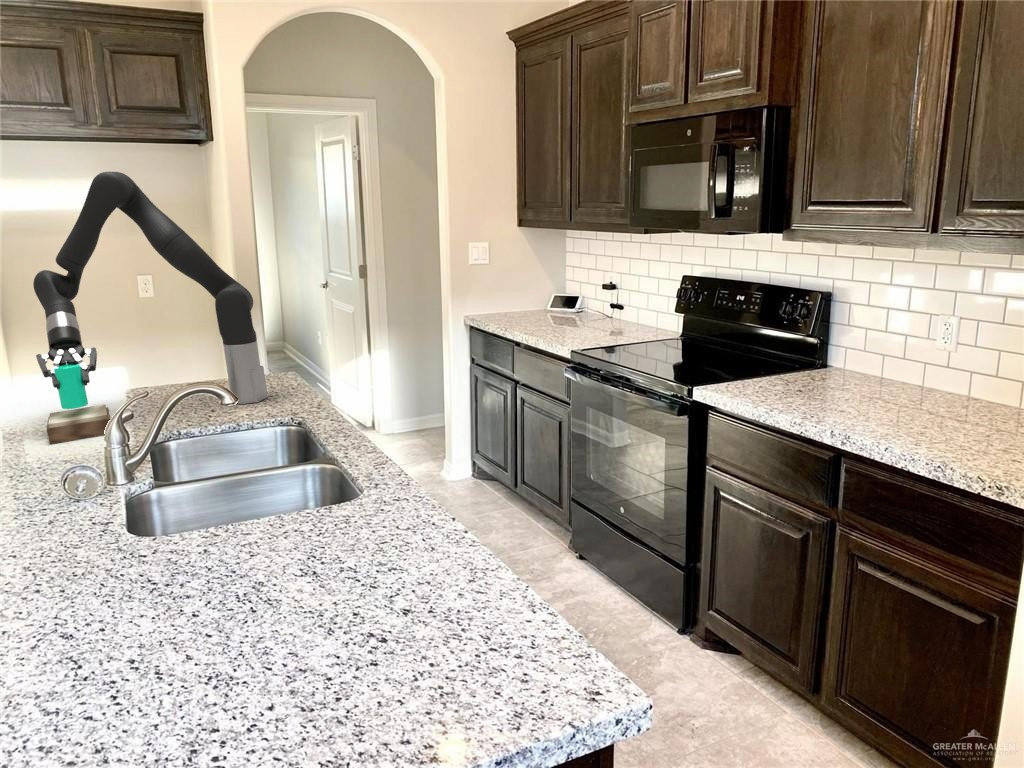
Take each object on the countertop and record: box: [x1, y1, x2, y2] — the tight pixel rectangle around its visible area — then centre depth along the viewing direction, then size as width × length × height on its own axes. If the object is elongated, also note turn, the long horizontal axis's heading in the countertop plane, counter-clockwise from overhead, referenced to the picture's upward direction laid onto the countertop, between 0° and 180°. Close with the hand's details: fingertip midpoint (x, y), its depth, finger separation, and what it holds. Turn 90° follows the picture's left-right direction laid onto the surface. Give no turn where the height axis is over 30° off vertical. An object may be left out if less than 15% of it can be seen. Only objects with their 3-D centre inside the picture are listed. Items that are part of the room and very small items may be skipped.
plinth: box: [46, 404, 111, 445], centre depth 196 cm, size 14×14×5 cm
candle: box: [54, 362, 89, 410], centre depth 193 cm, size 6×6×12 cm
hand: (72, 385), depth 192 cm, fingers closed on candle, 5 cm apart
